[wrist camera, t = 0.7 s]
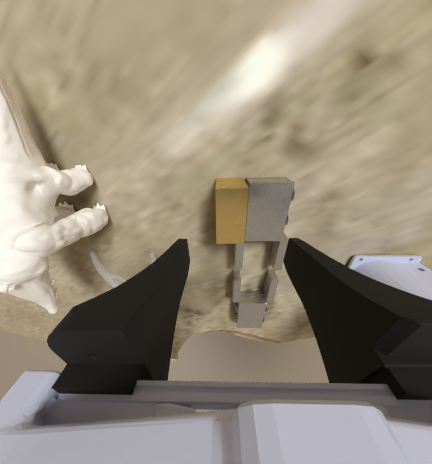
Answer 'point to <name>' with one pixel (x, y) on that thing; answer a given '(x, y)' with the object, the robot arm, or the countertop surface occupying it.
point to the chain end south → (267, 217)
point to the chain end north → (252, 301)
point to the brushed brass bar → (231, 210)
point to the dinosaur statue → (35, 209)
